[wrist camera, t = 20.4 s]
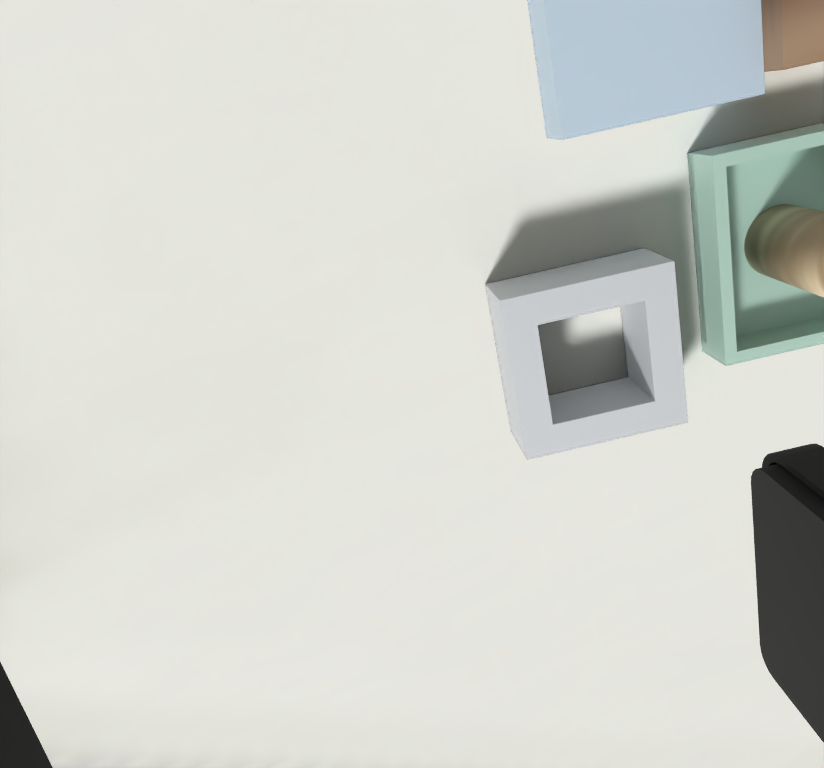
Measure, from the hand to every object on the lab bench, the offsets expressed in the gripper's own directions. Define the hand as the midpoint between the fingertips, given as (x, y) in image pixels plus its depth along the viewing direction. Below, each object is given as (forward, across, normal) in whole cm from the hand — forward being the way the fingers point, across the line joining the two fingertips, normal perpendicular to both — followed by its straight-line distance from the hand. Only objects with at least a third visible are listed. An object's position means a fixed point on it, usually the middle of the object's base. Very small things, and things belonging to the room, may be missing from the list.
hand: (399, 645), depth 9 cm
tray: (+28, -20, +4) cm, 35 cm away
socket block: (+28, -10, +7) cm, 31 cm away
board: (+29, -14, -8) cm, 33 cm away
